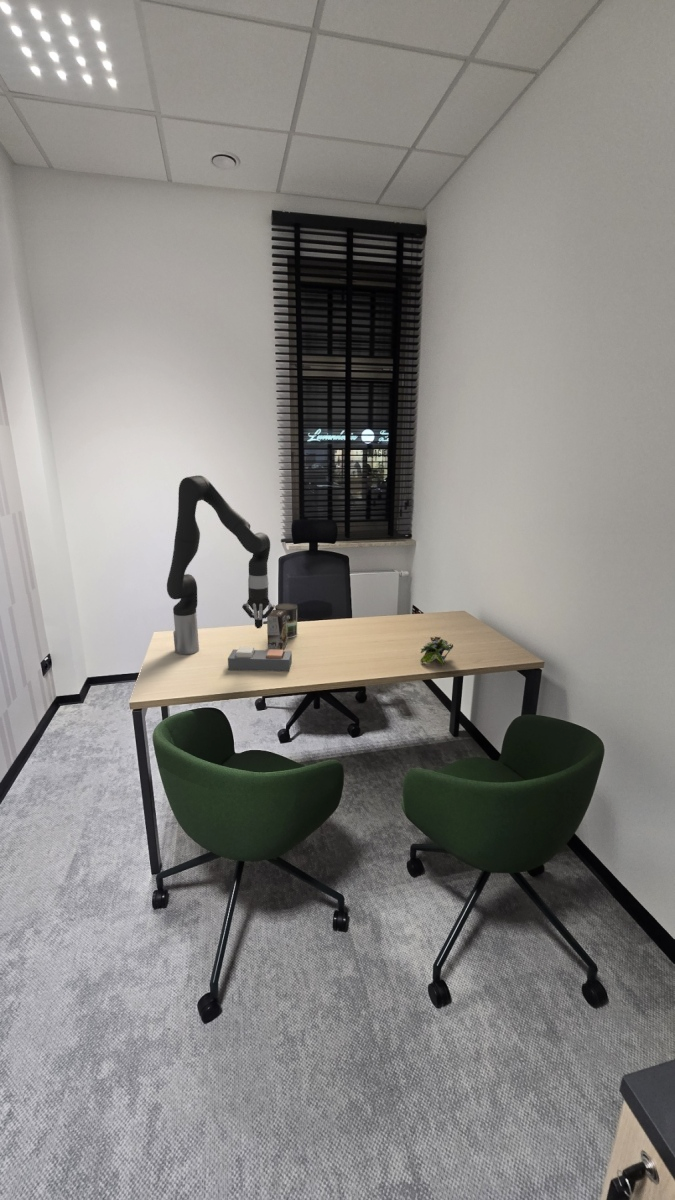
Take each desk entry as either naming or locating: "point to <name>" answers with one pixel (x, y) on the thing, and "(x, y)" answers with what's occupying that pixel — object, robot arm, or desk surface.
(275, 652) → the terracotta key
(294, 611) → the coffee can
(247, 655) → the offwhite key
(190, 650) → the robot arm
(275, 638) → the coffee box
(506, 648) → the desk surface
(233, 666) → the key console
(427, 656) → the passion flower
